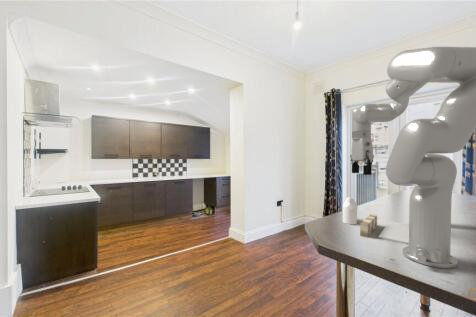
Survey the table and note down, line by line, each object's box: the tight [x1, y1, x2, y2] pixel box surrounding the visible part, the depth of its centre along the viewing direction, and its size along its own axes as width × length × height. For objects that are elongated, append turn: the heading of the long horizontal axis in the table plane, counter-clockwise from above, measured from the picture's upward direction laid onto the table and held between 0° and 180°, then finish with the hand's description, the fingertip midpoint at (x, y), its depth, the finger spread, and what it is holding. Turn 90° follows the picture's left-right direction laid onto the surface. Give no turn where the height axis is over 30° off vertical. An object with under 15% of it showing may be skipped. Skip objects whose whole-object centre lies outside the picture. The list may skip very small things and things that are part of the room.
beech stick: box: [359, 214, 378, 238], centre depth 91 cm, size 18×2×5 cm, turn 138°
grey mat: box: [377, 220, 409, 245], centre depth 90 cm, size 26×9×1 cm, turn 138°
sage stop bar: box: [340, 215, 365, 223], centre depth 105 cm, size 2×10×1 cm, turn 48°
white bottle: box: [342, 196, 358, 225], centre depth 102 cm, size 6×12×6 cm
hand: (361, 173), depth 100 cm, fingers open, 9 cm apart
